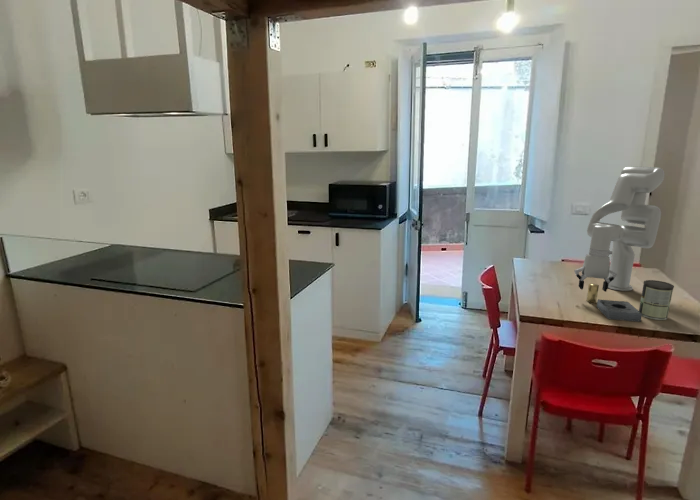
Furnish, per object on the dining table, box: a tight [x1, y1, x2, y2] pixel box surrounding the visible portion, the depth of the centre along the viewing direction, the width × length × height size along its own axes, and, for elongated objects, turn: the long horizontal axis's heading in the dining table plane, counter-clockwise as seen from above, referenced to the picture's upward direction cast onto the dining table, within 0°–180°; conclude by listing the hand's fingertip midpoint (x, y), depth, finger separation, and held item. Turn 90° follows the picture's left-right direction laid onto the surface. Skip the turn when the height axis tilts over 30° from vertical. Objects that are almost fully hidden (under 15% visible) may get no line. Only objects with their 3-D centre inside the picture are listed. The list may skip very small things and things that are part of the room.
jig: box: [596, 298, 643, 323], centre depth 180 cm, size 14×12×4 cm
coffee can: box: [638, 279, 675, 321], centre depth 177 cm, size 10×10×14 cm
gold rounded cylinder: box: [586, 283, 600, 304], centre depth 194 cm, size 4×4×8 cm
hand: (592, 289), depth 193 cm, fingers open, 9 cm apart
